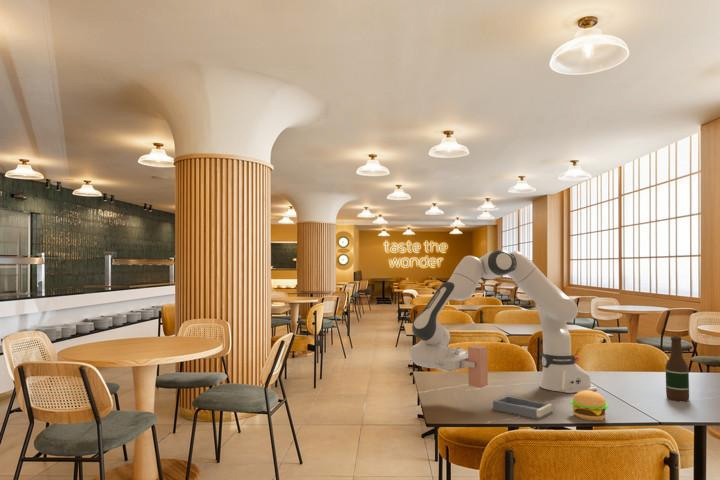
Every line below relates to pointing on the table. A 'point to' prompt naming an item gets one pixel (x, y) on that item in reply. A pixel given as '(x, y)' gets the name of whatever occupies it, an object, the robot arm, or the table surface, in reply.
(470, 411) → the table surface
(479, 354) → the post
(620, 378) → the table surface
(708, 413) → the table surface
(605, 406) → the hamburger
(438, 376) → the table surface
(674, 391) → the beer bottle
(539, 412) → the slot board
